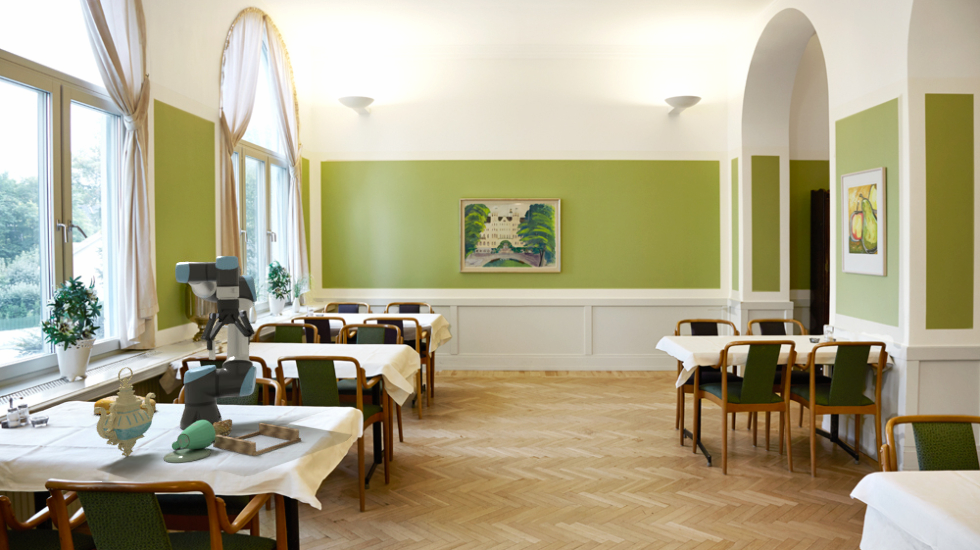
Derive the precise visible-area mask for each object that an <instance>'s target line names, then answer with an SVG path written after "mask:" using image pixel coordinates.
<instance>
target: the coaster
mask: <svg viewBox="0 0 980 550" xmlns="http://www.w3.org/2000/svg"><path fill="white" fill-rule="evenodd" d="M210 455H211V449H208V448H201V449H186V448H182V449H177V450H173V451H172V452H169V453H167V454H165V455H164V456H163V460H164V462H166V463H173V464H174V463H175V464H177V463H178V464H179V463H190V462H195V461H199V460H202V459H204V458H207V457H209V456H210Z"/></svg>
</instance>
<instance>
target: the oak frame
mask: <svg viewBox="0 0 980 550" xmlns="http://www.w3.org/2000/svg"><path fill="white" fill-rule="evenodd" d="M258 435H260V436H265V437H271V438H277V439H280V440H286V441H284V442H282V443H279V444H278V443H277V444H275V445H271V446H268V447H265V448H262V449H259V450H257V443H256V442H255V441H250V440H245V439H249V438H251V437H255V436H258ZM301 441H302V438H301V437H300V429H298V428H293V427H289V426H281V425H275V424H271V423H266V422H265V423H264V422H260V423H258V430H257V431H255V432H250V433H247V434H243V435H240V436H235V437H230V436H222V435H216V436H215V440H214V443H212V445H213V448H218V449H222V450H225V451H226V450H227V451H231V452H236V453H240V454H244V455H249V456H253V457H255V456H258V455H262V454H264V453H268V452H270V451H273V450H276V449H280V448H283V447H286V446H289V445H292V444H295V443H298V442H301Z"/></svg>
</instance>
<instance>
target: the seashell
mask: <svg viewBox="0 0 980 550" xmlns="http://www.w3.org/2000/svg"><path fill="white" fill-rule="evenodd" d="M213 427H214V429H215V436H216V435H222V436H227V437H229V435H230V433H231V432H232V431H233V430H232V429H233V420H232V419H230V418H229V419H222V421H219V422H215V423H214V424H213ZM214 441H215V439H214Z"/></svg>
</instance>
